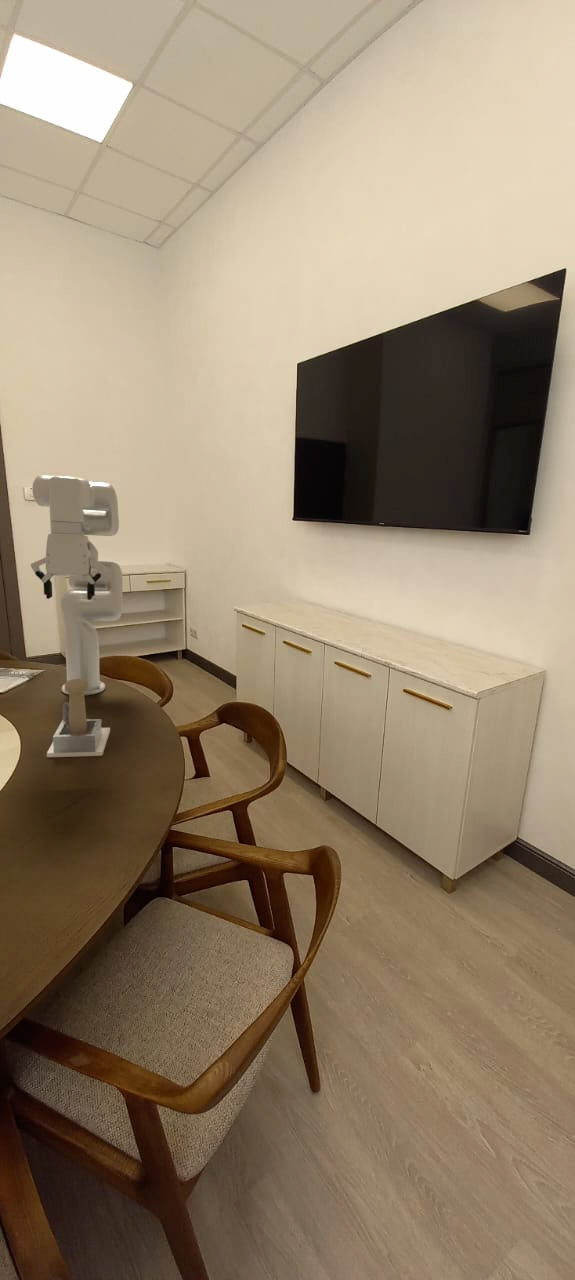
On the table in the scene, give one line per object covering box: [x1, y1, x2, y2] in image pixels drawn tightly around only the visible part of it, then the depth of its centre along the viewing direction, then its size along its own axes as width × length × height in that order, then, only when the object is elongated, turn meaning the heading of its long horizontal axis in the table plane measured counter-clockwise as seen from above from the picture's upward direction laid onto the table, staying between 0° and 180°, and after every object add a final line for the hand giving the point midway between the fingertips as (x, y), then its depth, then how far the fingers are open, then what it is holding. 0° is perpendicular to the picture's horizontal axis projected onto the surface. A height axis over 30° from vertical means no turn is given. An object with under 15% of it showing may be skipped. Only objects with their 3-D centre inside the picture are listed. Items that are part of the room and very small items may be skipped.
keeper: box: [46, 701, 111, 758], centre depth 124 cm, size 14×12×9 cm
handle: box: [64, 679, 88, 735], centre depth 122 cm, size 5×6×15 cm
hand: (69, 598), depth 130 cm, fingers open, 9 cm apart
